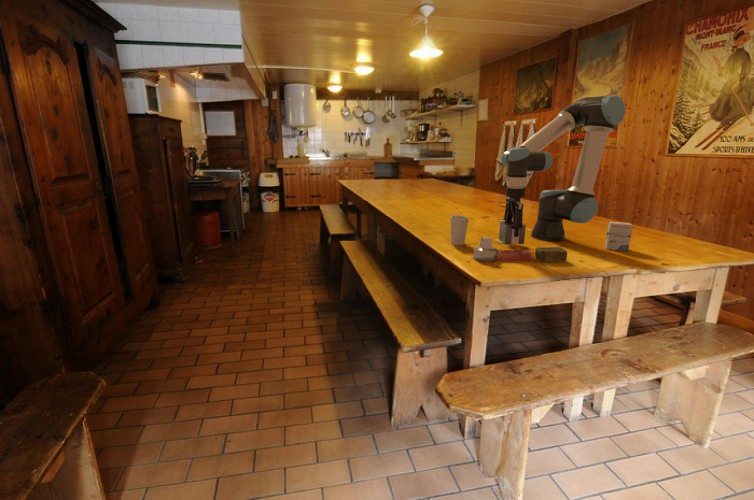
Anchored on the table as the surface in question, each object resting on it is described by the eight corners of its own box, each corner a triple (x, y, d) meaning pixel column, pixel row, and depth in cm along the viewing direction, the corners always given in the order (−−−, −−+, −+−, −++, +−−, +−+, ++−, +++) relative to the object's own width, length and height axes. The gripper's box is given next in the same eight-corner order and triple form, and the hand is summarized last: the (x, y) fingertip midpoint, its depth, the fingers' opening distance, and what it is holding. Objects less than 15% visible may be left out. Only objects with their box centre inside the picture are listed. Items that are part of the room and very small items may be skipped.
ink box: (625, 248, 178) (630, 222, 174) (628, 251, 173) (633, 225, 170) (604, 246, 180) (608, 221, 177) (606, 249, 176) (610, 223, 172)
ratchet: (524, 255, 165) (527, 235, 162) (533, 262, 156) (536, 241, 154) (470, 255, 164) (472, 235, 162) (476, 262, 156) (478, 240, 153)
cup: (466, 246, 177) (468, 219, 174) (448, 244, 179) (450, 218, 175) (466, 241, 185) (468, 216, 181) (449, 240, 186) (450, 215, 183)
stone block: (533, 258, 162) (534, 246, 160) (560, 258, 163) (561, 246, 161) (540, 263, 156) (541, 250, 155) (567, 262, 157) (569, 250, 156)
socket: (517, 238, 173) (518, 220, 170) (523, 244, 165) (525, 225, 163) (498, 239, 173) (500, 221, 170) (504, 244, 165) (506, 225, 163)
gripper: (498, 183, 172) (494, 234, 179) (515, 191, 152) (510, 248, 159) (515, 183, 172) (511, 234, 179) (535, 190, 152) (529, 247, 159)
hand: (511, 240), depth 169 cm, fingers closed on socket, 8 cm apart
